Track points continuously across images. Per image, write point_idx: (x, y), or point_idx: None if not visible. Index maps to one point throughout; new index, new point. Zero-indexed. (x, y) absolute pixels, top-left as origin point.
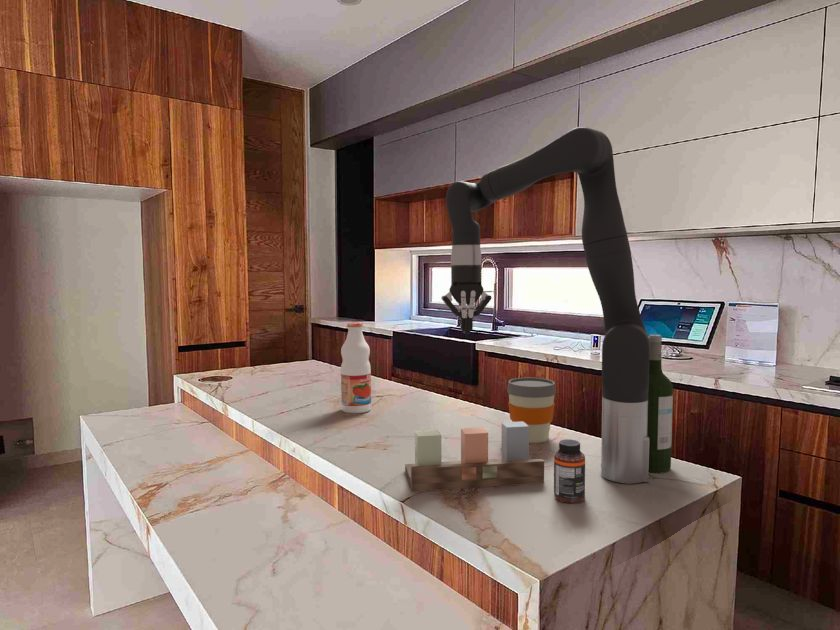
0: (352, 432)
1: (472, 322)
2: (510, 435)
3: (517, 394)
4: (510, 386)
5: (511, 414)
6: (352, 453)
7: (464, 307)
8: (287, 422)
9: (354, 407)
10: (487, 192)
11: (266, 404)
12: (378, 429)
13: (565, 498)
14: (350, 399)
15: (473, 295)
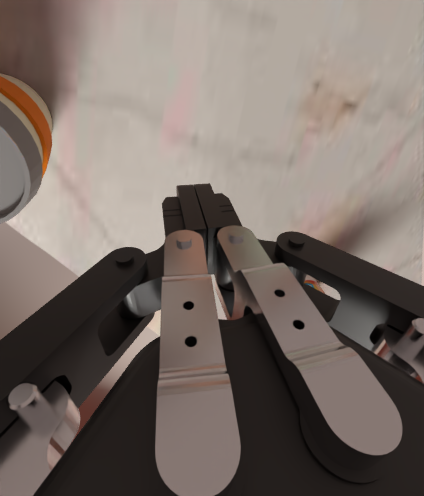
0: (334, 189)
1: (165, 224)
2: None
3: (3, 106)
4: (24, 147)
5: (44, 124)
6: (376, 68)
7: (260, 269)
8: (395, 240)
9: (307, 278)
10: None
11: None
12: (293, 200)
13: None
14: (317, 287)
15: (187, 399)
